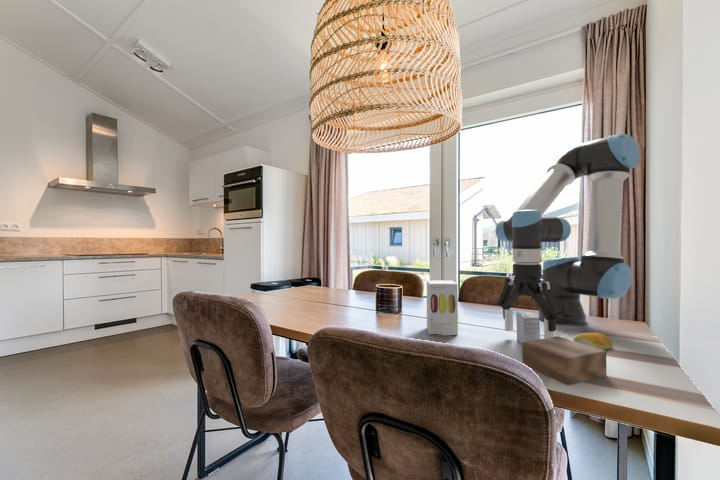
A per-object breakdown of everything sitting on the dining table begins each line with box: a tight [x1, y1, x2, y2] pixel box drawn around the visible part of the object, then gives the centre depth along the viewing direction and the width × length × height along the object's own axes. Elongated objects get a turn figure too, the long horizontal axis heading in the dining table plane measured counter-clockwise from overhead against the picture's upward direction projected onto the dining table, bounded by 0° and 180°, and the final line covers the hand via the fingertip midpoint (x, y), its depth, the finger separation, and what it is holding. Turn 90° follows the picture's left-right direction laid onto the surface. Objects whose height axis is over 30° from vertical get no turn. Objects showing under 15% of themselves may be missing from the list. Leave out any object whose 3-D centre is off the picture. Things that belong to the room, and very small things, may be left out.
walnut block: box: [521, 335, 607, 386], centre depth 79 cm, size 12×12×6 cm
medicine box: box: [516, 311, 541, 345], centre depth 98 cm, size 8×4×9 cm, turn 168°
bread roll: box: [573, 331, 613, 350], centre depth 96 cm, size 8×9×4 cm
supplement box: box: [426, 279, 459, 336], centre depth 113 cm, size 10×9×17 cm
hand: (527, 336), depth 98 cm, fingers open, 13 cm apart
